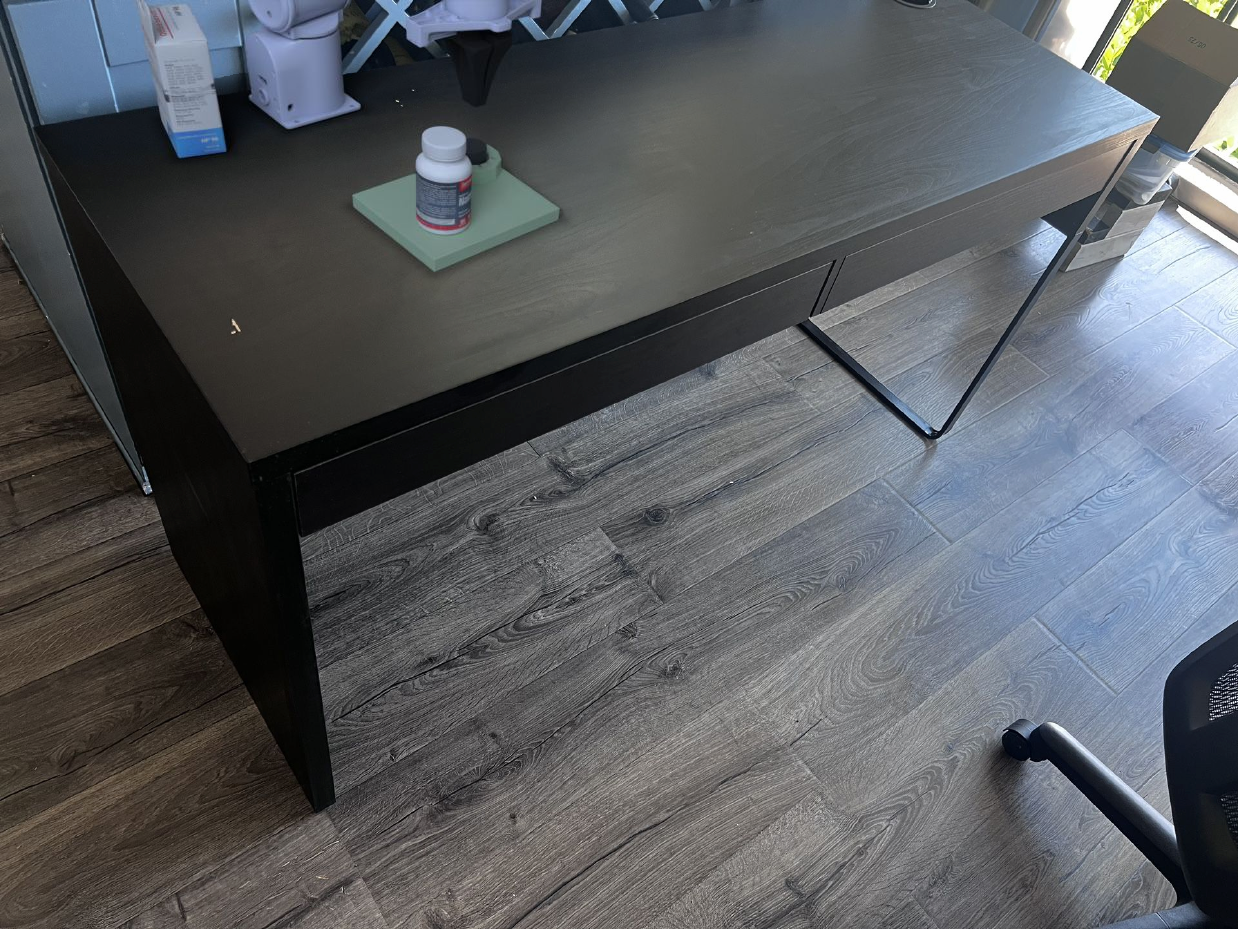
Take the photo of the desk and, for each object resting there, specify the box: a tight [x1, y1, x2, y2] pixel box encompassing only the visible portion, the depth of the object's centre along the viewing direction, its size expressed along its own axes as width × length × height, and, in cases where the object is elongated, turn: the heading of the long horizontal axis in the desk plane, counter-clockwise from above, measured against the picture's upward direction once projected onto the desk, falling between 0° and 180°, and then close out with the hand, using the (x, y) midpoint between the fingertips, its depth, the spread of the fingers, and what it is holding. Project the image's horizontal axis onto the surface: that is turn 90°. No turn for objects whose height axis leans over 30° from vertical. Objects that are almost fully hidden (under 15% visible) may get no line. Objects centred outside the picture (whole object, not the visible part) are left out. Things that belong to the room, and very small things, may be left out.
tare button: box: [465, 137, 488, 165], centre depth 97 cm, size 3×3×2 cm
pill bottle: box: [415, 125, 472, 235], centre depth 89 cm, size 5×5×9 cm
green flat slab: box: [351, 144, 561, 273], centre depth 94 cm, size 16×14×3 cm
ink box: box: [135, 0, 227, 159], centre depth 93 cm, size 8×5×15 cm, turn 29°
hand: (474, 101), depth 93 cm, fingers closed
